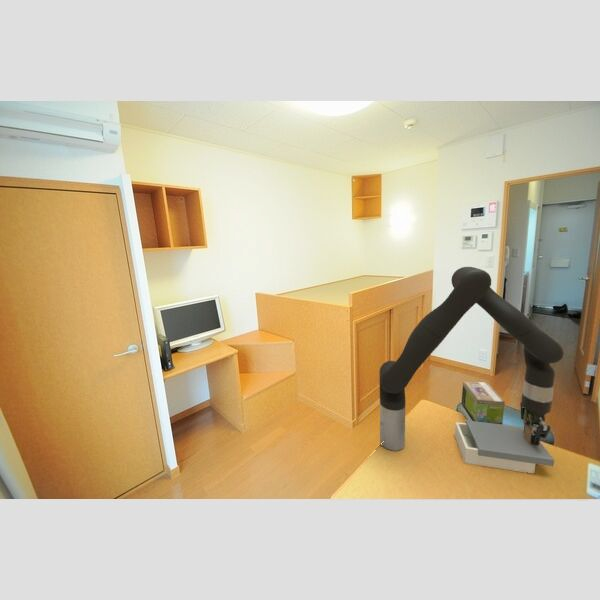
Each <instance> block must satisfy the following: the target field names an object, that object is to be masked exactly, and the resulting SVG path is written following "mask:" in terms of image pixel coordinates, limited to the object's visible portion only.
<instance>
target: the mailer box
mask: <svg viewBox="0 0 600 600" xmlns="http://www.w3.org/2000/svg"><path fill="white" fill-rule="evenodd" d="M454 437H455V439H456V443H457V445H458V448H459V451H460V454H461V455H462V459H463V461H464V462H463V463H465V464H468V465H469V464H470V465H474V466H481V467H489V468H495V469H500V470H506V471H507V470H509V471H515V472H521V473H526V474H532V473H534V474H535V468H536V464H534V463H527V462H520V461H513V460H506V459H500V458H493V457H486V456H479V455H478V451H479V450H478V448H477V445H476V443H475V441H474V439H473V437H472V434H471V432H470V430H469V428H468V426H467V423H466V422H458V421H457V422H456V421H455V426H454ZM527 472H528V473H527Z"/></svg>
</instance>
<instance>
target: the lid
mask: <svg viewBox="0 0 600 600" xmlns="http://www.w3.org/2000/svg"><path fill="white" fill-rule="evenodd" d="M465 423H467V426H468V428H469V430H470V432H471V434H472V437H473V439H474V441H475V443H476V445H477V448H478V450H479V451H478V455H479V456H486V457H493V458H500V459H506V460H513V461H520V462H527V463H534V464H535V465H542V466H548V467H554V464H555V463H554V462H555V459H554V458H553V456H552V455H551V454H550V453H549V451H548V450H547V448H546V447H545V446H544V444H543V443H542V442H541V441H540V443H539V445H532V444H531V442H530V441H531V434H532V428H531V427H530V425H527V424H525V430H524V426H519V425H510V424H504V423H502V424H494V423H486V422H477V421H468V420H467V419H466V420H465ZM536 430H537V429H535V432H536Z"/></svg>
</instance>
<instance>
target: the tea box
mask: <svg viewBox="0 0 600 600" xmlns="http://www.w3.org/2000/svg"><path fill="white" fill-rule="evenodd" d="M461 391H462V393H461V405H460V410H461V413H462V414H463V415H464V417H465V418H466V420H468V421H477V422H486V423H494V424H504V422H503V419H504V411H505V405H506V403H505V402H506V401H505V400H504V399H503V398H502V397H501V396H500V394H499V393H497V391H496V390H495V389H494V388H493V386H491V385H490V384H489V383H488V382H485V381H483V382H482V381H465V380H464V381H462V390H461Z"/></svg>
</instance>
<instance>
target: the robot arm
mask: <svg viewBox="0 0 600 600" xmlns="http://www.w3.org/2000/svg"><path fill="white" fill-rule="evenodd" d="M451 286H452V287H453V290H452V291H451V292H450V294H448V296H447V297H446V299H445V300H444V301H443V302H442V303H441V304H439V305H438V306H437V307H435V308H434V309H433V310H432V311H430V312H428V314H426V315H425V316H424V317H423V318H422V319H421V320H420V321H419V322H418V324H417V325H416V326H415V328H414V329H413V330H412V332H411V333H410V335H409V337H408V338H407V340H406V343H405V346H404V348H403V350H402V352H401V354H400V355H399V357H398V358H397V360H387V361H385V362H383V363H382V364H381V365H380V368H379V371H378V372H379V373H378V374H379V375H378V376H379V377H378V378H379V445H380V444H381V443H382V442H383V441H384V442H383V443H382V445H381V446H380V447H383V448H385V449H387V450H390V451H394V452H395V451H398V452H399V451H400V450H403V449H404V448H405V446H406V445H405V443H406V389H405V388H406V387H407V386H408V384H409V383H410V381H411V379H412V378H413V377H414V375H415V374H416V372H417V371H418V370H419V368H420V367H421V366H422V365H423V364H424V363H425V362H426V361H427V359H428V358H429V357H430V356H431V355H432V354H433V352H434V351H436V349H437V348H438V347H439V346H440V344H441V343H442V342H443V341H444V340H445V338H446V337H447V336H448V335H449V334H450V332H452V330H453V329H454V327H456V325H457V324H458V323H459V322H460V320H461V319H462V318H463V316H465V314H467V312H469V310H470V309H471V308H472V307H474V305H478V306H479V307H480V308H482V309H483V310H484V311H485V312H486V314H488V315H489V316H490V317H491V318H492V319H493V320H494V321H495V322H496V323H497V324H498V326H499V325H500V327H501V328H503V330H505V332H506V333H508V334H509V335H510V336H511V337H512V338H514V339H515V340H517V341H518V342H519V343H521V344H522V345H523V356H524V357H523V358H524V361H525V368H526V369H525V374H524V381H523V385H522V391H521V399H520V405H519V406H520V419H521V420H522V421H523V425H524V426H523V427H524V430H525V424H527V425H530V427H531V428H532V434H531V441H530V442H531V444H532V445H539V443H540V442H541V439H546V438H547V436H548V435H549V432H550V430H551V426H550V425H548V424H547V423H545V422H546V417H545V415H546V414H549V413H551V410H552V405H553V404H552V403H553V396H554V384H555V383H554V381H555V370H554V368H553V367H552V365H550V364H556V363H559V362H560V361H561V360H562V359H563V357H564V354H565V353H564V349H563V348H562V346H561V345H560V344H559V343H558V342H557V341H556V340H554V339H553V338H552V337H551V336H549V335H548V334H547V333H545V332H544V331H543V330H541V329H540V328H539V327H538V326H536V324H535V323H534V322H533V321H532V320H531V319H530V318H529V317H527V316H526V315H525V314H524V313H523V312H522V311H521V310H519V309H518V308H517V307H515V306H514V305H513V304H512V303H510V302H508V301H507V300H506V299H504V298H503V297H502V296H500V295H499V294H498V293H497V292H495V290H494V289H492V287H491V286H492V278H491V275H490V274H489V273H488V272H487V271H485V270H483V269H480V268H477V267H474V266H462V267H460V268H458V269H457V270H455V271H454V272H453V274H452V276H451ZM535 429H537V430H536V432H535Z"/></svg>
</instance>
